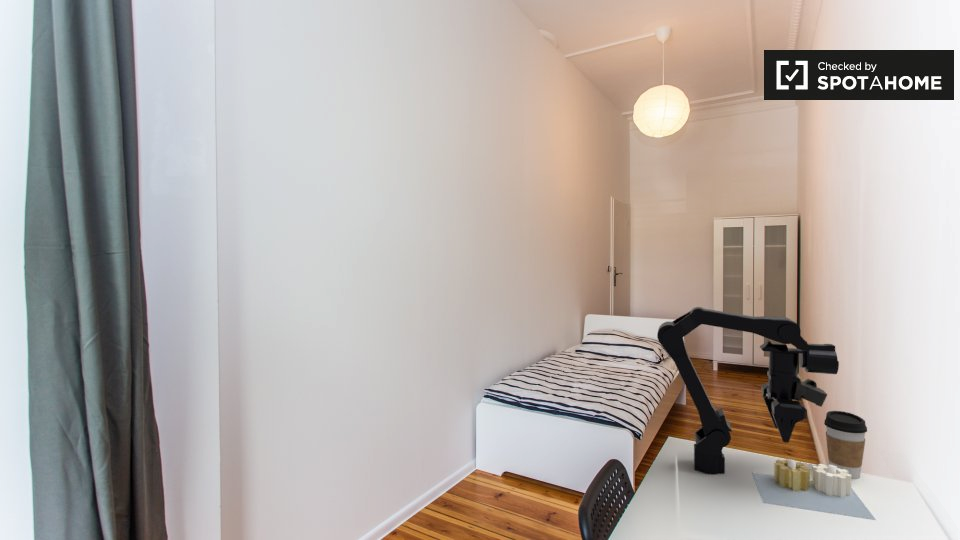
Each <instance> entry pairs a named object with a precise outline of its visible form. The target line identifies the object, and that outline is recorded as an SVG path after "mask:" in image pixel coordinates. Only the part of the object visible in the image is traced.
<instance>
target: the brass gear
mask: <svg viewBox="0 0 960 540" xmlns="http://www.w3.org/2000/svg"><path fill="white" fill-rule="evenodd" d="M788 460H789V459H788V458H787V459H785V460H782V459H776V460H775V462H774V463H773V467H774V469H773V471H774V472H773V475H774V482H775V483H779V484H780V487H782V488H789V489H792V490H793V491H798V490H804V491H808V490H809V488H810V480H811V467H810V466H805V463H803V462H801V461H796V469H792V468H789V467H788Z"/></svg>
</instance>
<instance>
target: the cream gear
mask: <svg viewBox="0 0 960 540" xmlns="http://www.w3.org/2000/svg"><path fill="white" fill-rule="evenodd" d="M827 465H828V464H827ZM827 465H826V464H824V463H818V464H817V465H813V466H812V481H813V486H815V489H816V490H817V491H822V492H824V493H826V495H829V496H832V495H835V496H839V497H841V498H845V497H846V495H849V496H850V495H851V488H852V479H851V475H850V474H849V471H847V470H845V469H840V468H837V466H836V474H832V473H828V472H827Z"/></svg>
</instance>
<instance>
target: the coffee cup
mask: <svg viewBox="0 0 960 540" xmlns="http://www.w3.org/2000/svg"><path fill="white" fill-rule="evenodd" d="M823 425H824V426H825V429H826V431H825V437H826V438H825V439H826V448H827V458H828V459H827V460H828V465H829V464H830V465H834V466H837V468H840V469H845V470H847V471H849V474H850V475H851V480H859V479H860V478H861V473H862V465H863V459H864V452H865V445H866V437H865V436H866V433H867V432H868V427H867V423H866V420H865V419H864V418H862V417H860V416H858V415H856V414H854V413H852V412H846V411H840V410H830V411H827V412H826V416H825V419H824V422H823Z"/></svg>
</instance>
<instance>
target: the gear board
mask: <svg viewBox="0 0 960 540" xmlns="http://www.w3.org/2000/svg"><path fill="white" fill-rule="evenodd" d="M796 462H797V461H796V460H794V459H788V467H789V468H792V469H796ZM827 472H828V473H832V474H836V466H834V465H830V464H829V463H828V464H827ZM751 475H752V477H753V479H754V482H755V485H756V487H757V490H758V492H759V495H760V498H761V500H762V503H763V504H768V505H769V504H770V505H776V506H781V507H789V508H795V509H802V510H807V511H813V512H820V513H827V514H833V515H840V516H847V517H852V518H853V517H854V518H858V519H860V518H861V519H865V520H872V521H876V518H875V516H874V515H873V514H872V513H871V511H870V510H869V509H868V507H867V506H866V505H865V504H864V502H863V501H862V500H861V498H860V497H859V495H858V494H856V492H855V490H853V488H852V487H851V495H850V496H849V495H846V497H845V498H841V497H839V496H835V495H832V496H829V495H826V493H824V492H822V491H817V490H816V489H815V486H813V480H811V479H810V488H809V490H808V491H804V490H798V491H793V490H792V489H789V488H782V487H780V484H779V483H775V482H774V474H773V475H772V474H765V473H758V472H751Z"/></svg>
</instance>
